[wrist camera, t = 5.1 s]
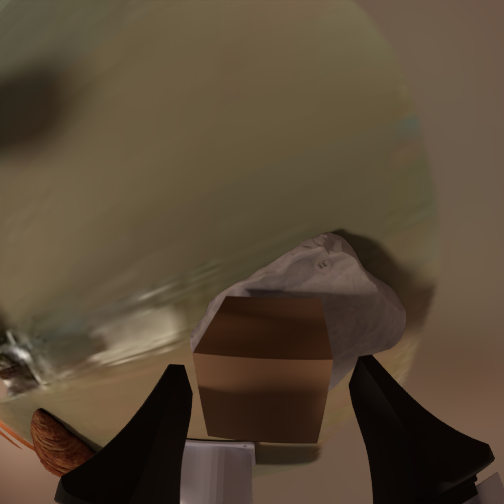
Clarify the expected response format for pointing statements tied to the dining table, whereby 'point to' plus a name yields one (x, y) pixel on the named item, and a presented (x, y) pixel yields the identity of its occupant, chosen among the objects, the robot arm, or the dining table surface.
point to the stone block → (327, 299)
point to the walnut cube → (265, 369)
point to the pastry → (57, 445)
